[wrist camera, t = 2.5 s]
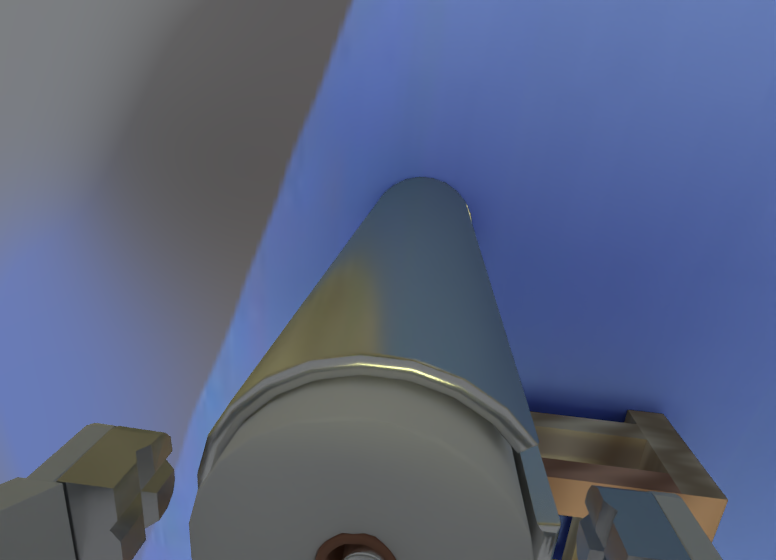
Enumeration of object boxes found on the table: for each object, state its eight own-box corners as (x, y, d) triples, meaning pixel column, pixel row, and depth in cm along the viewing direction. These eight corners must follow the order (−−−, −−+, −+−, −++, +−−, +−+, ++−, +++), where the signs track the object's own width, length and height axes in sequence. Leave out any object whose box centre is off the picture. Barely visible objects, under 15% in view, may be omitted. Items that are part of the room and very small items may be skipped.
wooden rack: (663, 414, 34) (728, 499, 26) (614, 574, 38) (656, 685, 31) (378, 380, 35) (361, 452, 27) (365, 539, 40) (348, 637, 32)
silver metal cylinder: (457, 285, 32) (506, 749, 9) (362, 262, 32) (153, 657, 9) (484, 189, 30) (649, 456, 6) (382, 166, 30) (176, 341, 7)
